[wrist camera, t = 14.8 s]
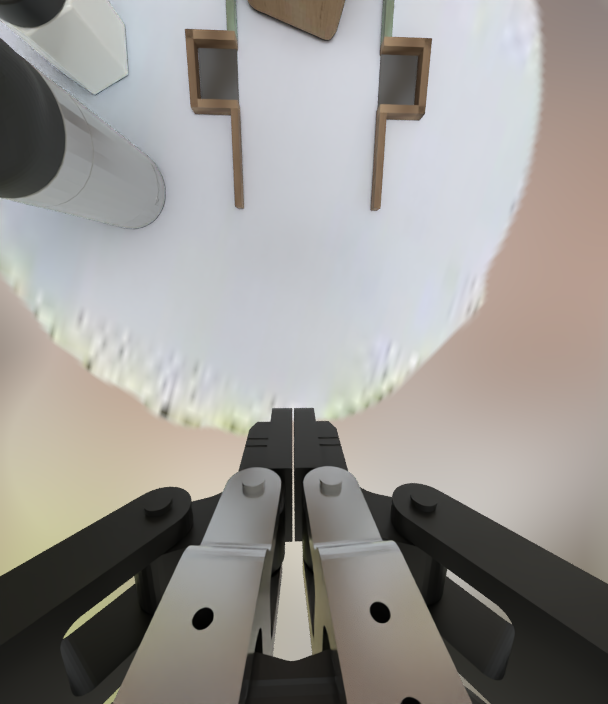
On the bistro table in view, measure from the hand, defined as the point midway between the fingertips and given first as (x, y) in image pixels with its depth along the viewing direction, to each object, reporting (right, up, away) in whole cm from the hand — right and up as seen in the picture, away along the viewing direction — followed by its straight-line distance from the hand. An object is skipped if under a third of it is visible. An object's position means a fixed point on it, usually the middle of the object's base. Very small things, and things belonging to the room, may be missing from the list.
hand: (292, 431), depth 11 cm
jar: (-23, +36, +23) cm, 49 cm away
